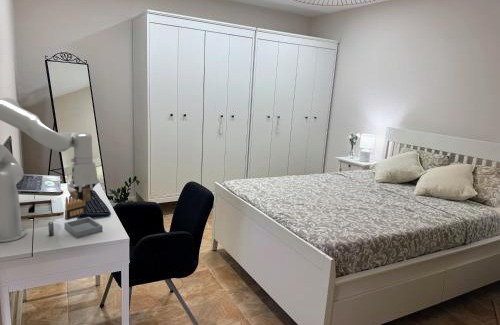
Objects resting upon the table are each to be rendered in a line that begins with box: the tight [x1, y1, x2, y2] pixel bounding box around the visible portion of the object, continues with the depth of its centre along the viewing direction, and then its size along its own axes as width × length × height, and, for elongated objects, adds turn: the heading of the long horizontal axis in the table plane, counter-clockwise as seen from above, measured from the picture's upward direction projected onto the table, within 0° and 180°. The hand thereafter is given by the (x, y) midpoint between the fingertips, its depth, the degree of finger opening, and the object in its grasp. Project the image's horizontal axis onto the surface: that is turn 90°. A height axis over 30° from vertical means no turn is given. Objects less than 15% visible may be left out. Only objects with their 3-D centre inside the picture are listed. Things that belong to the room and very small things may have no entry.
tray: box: [63, 216, 104, 239], centre depth 168 cm, size 12×14×3 cm
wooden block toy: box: [69, 185, 92, 202], centre depth 164 cm, size 6×10×6 cm, turn 48°
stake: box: [47, 221, 55, 237], centre depth 160 cm, size 2×2×6 cm
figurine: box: [66, 181, 87, 203], centre depth 196 cm, size 7×9×15 cm
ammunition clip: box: [64, 196, 87, 221], centre depth 182 cm, size 11×2×12 cm, turn 147°
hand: (85, 198), depth 162 cm, fingers closed on wooden block toy, 3 cm apart
